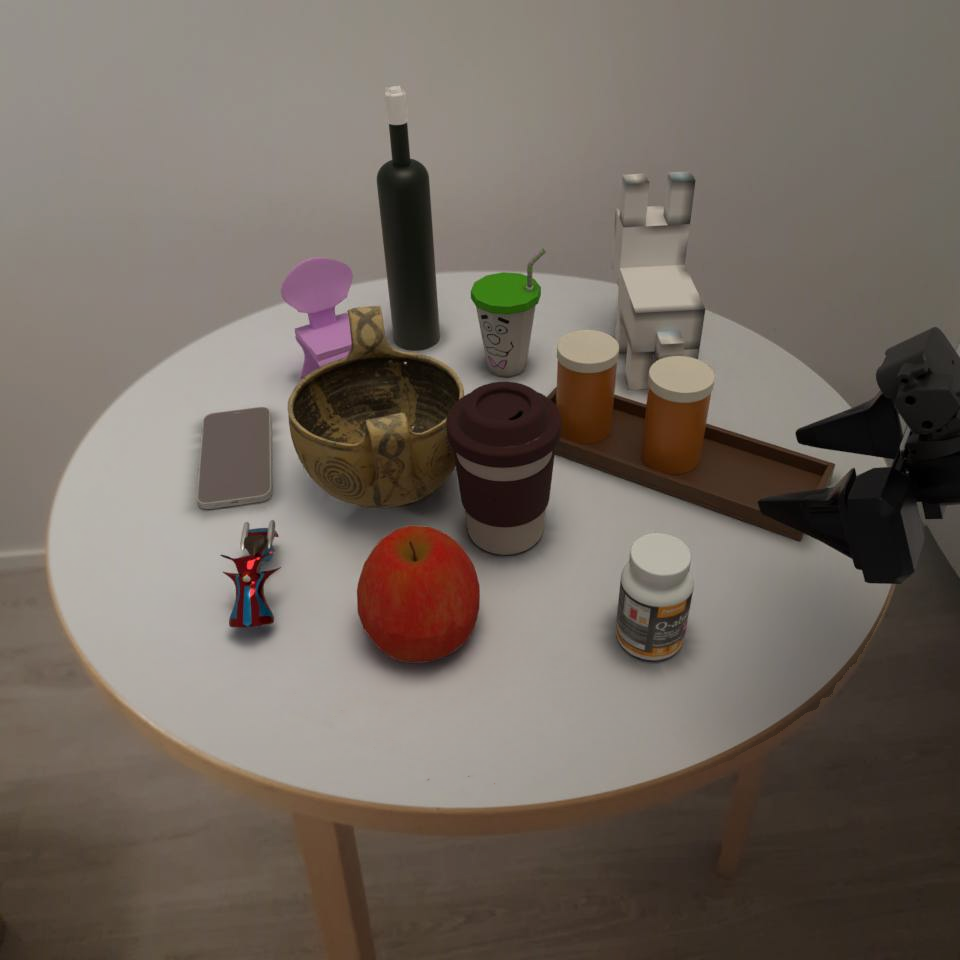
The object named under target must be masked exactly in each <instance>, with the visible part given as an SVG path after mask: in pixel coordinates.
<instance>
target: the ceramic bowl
mask: <svg viewBox="0 0 960 960" xmlns="http://www.w3.org/2000/svg"><path fill="white" fill-rule="evenodd" d="M346 313H347V314H348V316H349V323H350V332H351V342H352V343H351V350H350V352H349V353H348V355H347V356H346V357H344V358H341V359H338V360H336V361H333V362H330V363H328V364H325V365H323V366H321V367H319V368H317V369H316V370H314V371H313V372H311V373H309V374H308V375H307V376H305V377H302V378H301V379H300V381H299V382H298V383H297V384H296V385H295V387H294V388H293V389H292V391H291V393H290V395H289V397H288V401H287V414H288V426H289V427H288V428H289V434H290V438H291V442H292V445H293V447H294V450H295V453H296V455H297V457H298V460H299V461H300V463H301V465H302V466H303V469H304V470H305V472H306V473H307V475H308V476H309V477H310V479H312V480H313V481H314V483H315V484H316V485H317V486H319V488H321V489H322V490H323V491H324V492H325V493H327V494H328V495H330V496H331V497H332V498H335V499H337V500H339V501H342V502H344V503H347V504H350V505H354V506H357V507H363V508H370V509H388V508H389V509H390V508H396V507H401V506H406V505H410V504H412V503H414V502H415V503H416V502H417V501H420V500H422V499H424V498H426V497H427V496H430V495H431V494H433V493H434V492H435V491H436V490H438V489H439V488H440V487H441V486H442V485H444V483H445V482H446V481H447V480H448V479H449V478H450V476H451V475H452V473H453V472H454V470H456V464H455V458H454V451H455V450H454V449H453V448H452V447H451V445H450V443H449V440H448V437H447V428H446V419H447V415H448V412H449V410H450V409H451V407H452V406H453V405H454V404H455V403H456V402H457V401H458V400H459V399H460V398H462V397H464V396H465V387H464V385H463V383H462V380H461V379H460V377H459V375H458V374H457V373H456V372H455V371H454V369H453V368H451V366H449V365H448V364H446V363H445V362H444V361H441V360H439V359H437V358H435V357H433V356H430V355H426V354H423V353H419V352H413V351H403V350H400V349H396V348H394V347H393V346H392V345H391V344H390V343H389V341H388V339H387V336H386V330H385V326H384V318H383V311H382V306H381V305H372V306H356V307H353V308H349V309H348V310H347V312H346Z"/></svg>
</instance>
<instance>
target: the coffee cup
mask: <svg viewBox="0 0 960 960" xmlns="http://www.w3.org/2000/svg"><path fill="white" fill-rule="evenodd" d="M561 421H562V420H561V414H560V411H559V410H558V408H557V406H556V405H555V404H554V403H553V402H552V401H551V400H550V399H549V398H547V396H546V395H544V394H543V393H541V392H538V391H536V390H535V389H534V388H533V387H530V386H528V385H526V384H523V383H520V382H515V381H493V382H489V383H485V384H482V385H480V386H478V387H476V388H475V389H473V390H471V391H470V392H469V393H467V394H464V397H462V398H460V399H459V400H458V401H457V402H456V403H455V404H454V405H453V406H452V407H451V409H450V410H449V412H448V415H447V419H446V428H447V437H448V440H449V443H450V445H451V447H452V448H453V449H454V450H455V451H454V458H455V464H456V467H455V471H456V476H457V484H458V490H459V497H460V503H461V505H462V508H463V509H464V514H465V521H466V528H467V533H468V535H469V537H470V539H471V541H472V542H473V543H474V544H475V545H476V546H477V547H478V548H480V549H481V550H483V551H486V552H487V553H490V554H494V555H502V556H503V555H504V556H510V555H516V554H520V553H523V552H525V551H528V550H529V549H531V548H532V547H534V546H535V545H536V544H537V543H538V542H539V541H540V539H541V538H542V536H543V533H544V529H545V521H546V510H547V507H548V505H549V502H550V497H551V488H552V480H553V479H552V478H553V472H554V471H553V470H554V464H555V455H556V454H555V451H554V448H555V447H556V445H557V444H558V442H559V439H560V436H561Z"/></svg>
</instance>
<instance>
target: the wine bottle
mask: <svg viewBox="0 0 960 960" xmlns="http://www.w3.org/2000/svg"><path fill="white" fill-rule="evenodd" d="M384 98H385V99H384V100H385V109H386V119H387V124H388V132H389V139H390V152H391V153H390V154H391V159H390V160H388V161H386V162H385V163H383V164H382V166H381V167H380V168H379V169H378V171H377V173H376V174H377V175H376V186H377V189H376V190H377V199H378V207H379V217H380V225H381V235H382V243H383V253H384V263H385V271H386V280H387V290H388V291H387V292H388V299H389V308H390V317H391V328H392V335H393V336H392V337H393V342H394V343H395V345H396V346H398V347H399V348H401V349H404V350H407V351H408V350H409V351H421V350H422V351H423V350H426V349H429V348H432V347H433V346H435V345H436V344H437V343H438V342H439V341H440V338H441V331H440V329H441V328H440V318H439V317H440V316H439V303H438V302H439V301H438V288H437V273H436V260H435V259H436V258H435V244H434V242H435V241H434V229H433V228H434V227H433V214H432V201H431V185H430V175H429V172H428V169H427V168H426V167H425V165H424V164H423V163H422V162H420V161H419V160H416V159H414V158H411V151H410V139H409V126H408V122H409V116H408V115H409V114H408V104H407V103H408V102H407V93H406V90H405V88H402V87H401V85H400V84H399V85H394V86H389V87H388V86H385V92H384Z"/></svg>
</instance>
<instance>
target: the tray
mask: <svg viewBox="0 0 960 960" xmlns="http://www.w3.org/2000/svg"><path fill="white" fill-rule="evenodd" d="M556 396H557V386H555V388H554V389H553V390H552V391H551V392H550V393H548V395H547V396H546V397H547V398H549V399H550V400H551V401H552V402H553V403H554V404H555V405H556ZM646 405H647V403H643V402H639V401H637V400H633V399H631V398H627V397H624V396H622V395H617V394H615V393H614V405H613V417H612V429H611V432H610V434H609V435H608V436H607V437H606V438H605V439H603V440H601V441H599V442H595V443H590V444H580V443H576V442H573V441H570V440H567V439H564V438H563V437H561V436H560V439H559V442H558V444H557V445H556V447H555V448H554V451H555V455H557V456H560V457H562V458H565V459H567V460H571V461H574V462H575V463H578V464H582V465H585V466H588V467H591V468H593V469H595V470H598V471H601V472H604V473H607V474H610V475H613V476H616V477H619V478H621V479H624V480H627V481H629V482H633V483H635V484H638V485H641V486H644V487H646V488H650V489H652V490H655V491H658V492H661V493H663V494H666V495H669V496H672V497H675V498H678V499H680V500H683V501H686V502H688V503H692V504H695V505H697V506H701V507H703V508H706V509H708V510H711V511H714V512H717V513H720V514H723V515H726V516H728V517H731V518H734V519H736V520H739V521H742V522H745V523H747V524H751V525H754V526H756V527H760V528H762V529H765V530H766V531H767V530H768V531H770V532H772V533H773V532H774V533H776V534H779V535H782V536H784V537H787V538H790V539H792V540H795V541H799V542H801V541H802V539H803V537H804V536H805V534H804V533H802V532H800V531H797V530H795V529H793V528H791V527H788V526H786V525H784V524H782V523H780V522H777V521H775V520H773V519H771V518H769V517H766V516H764V515H762V514H761V513H760V510H759V506H758V501H759V499H760V498H764V497H769V496H774V495H779V494H787V493H794V492H802V491H810V490H817V489H825V488H828V486H829V484H830V483H831V480H832V478H833V474H834V471H835V467H836V463H834V462H831V461H828V460H824V459H821V458H818V457H815V456H811V455H809V454H804V453H802V452H799V451H795V450H792V449H789V448H786V447H782V446H780V445H777V444H773V443H771V442H768V441H765V440H761V439H757V438H754V437H751V436H747V435H744V434H742V433H738V432H735V431H732V430H729V429H725V428H723V427H719V426H716V425H713V424H709V423H707V422H706V428H705V434H704V440H703V446H702V452H701V458H700V462H699V464H698V465H697V467H696V468H694V469H693V470H691V471H689V472H687V473H683V474H665V473H662V472H659V471H657V470H654V469H652V468H650V467H649V466H647V465H646V464H645V462H644V461H643V459H642V456H641V449H642V440H643V431H644V423H645V414H646Z"/></svg>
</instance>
